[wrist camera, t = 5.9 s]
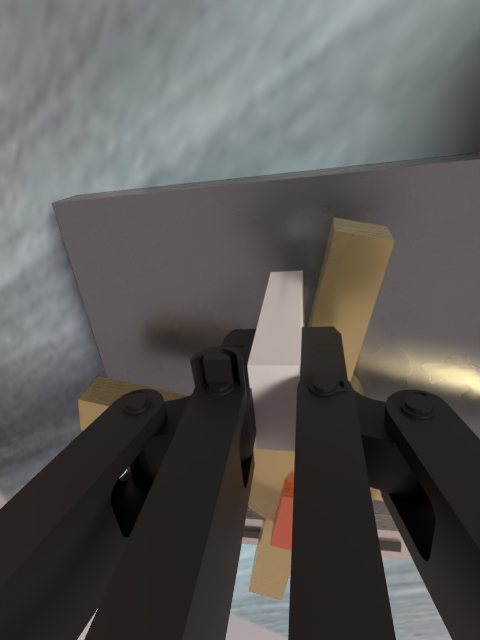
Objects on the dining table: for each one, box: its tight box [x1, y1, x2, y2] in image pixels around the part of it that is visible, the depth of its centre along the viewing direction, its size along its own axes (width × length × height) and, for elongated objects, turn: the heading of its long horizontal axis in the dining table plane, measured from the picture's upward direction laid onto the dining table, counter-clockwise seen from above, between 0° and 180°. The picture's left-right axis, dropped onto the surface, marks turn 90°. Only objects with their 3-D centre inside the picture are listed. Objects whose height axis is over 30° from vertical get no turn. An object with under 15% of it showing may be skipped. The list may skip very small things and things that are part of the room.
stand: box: [52, 153, 480, 560], centre depth 21 cm, size 22×22×4 cm
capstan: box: [78, 217, 395, 600], centre depth 18 cm, size 20×20×6 cm
